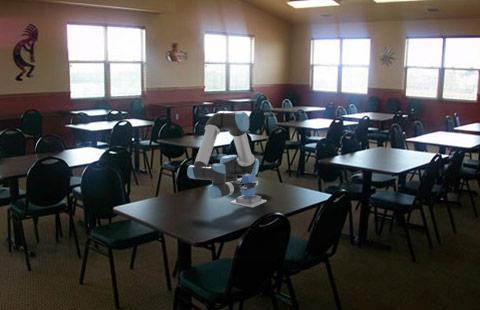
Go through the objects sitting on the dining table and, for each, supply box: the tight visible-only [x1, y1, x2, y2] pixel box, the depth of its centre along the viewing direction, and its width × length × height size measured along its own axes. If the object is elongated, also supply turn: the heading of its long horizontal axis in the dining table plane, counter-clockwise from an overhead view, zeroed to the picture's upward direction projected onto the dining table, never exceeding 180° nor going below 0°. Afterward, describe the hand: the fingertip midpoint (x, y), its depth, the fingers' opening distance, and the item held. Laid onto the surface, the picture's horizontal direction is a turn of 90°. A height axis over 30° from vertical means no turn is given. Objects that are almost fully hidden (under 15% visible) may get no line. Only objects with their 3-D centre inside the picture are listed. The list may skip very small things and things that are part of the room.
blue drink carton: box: [241, 174, 256, 196], centre depth 302 cm, size 7×5×13 cm
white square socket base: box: [230, 194, 267, 208], centre depth 304 cm, size 16×16×4 cm
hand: (253, 181), depth 306 cm, fingers closed on blue drink carton, 5 cm apart
